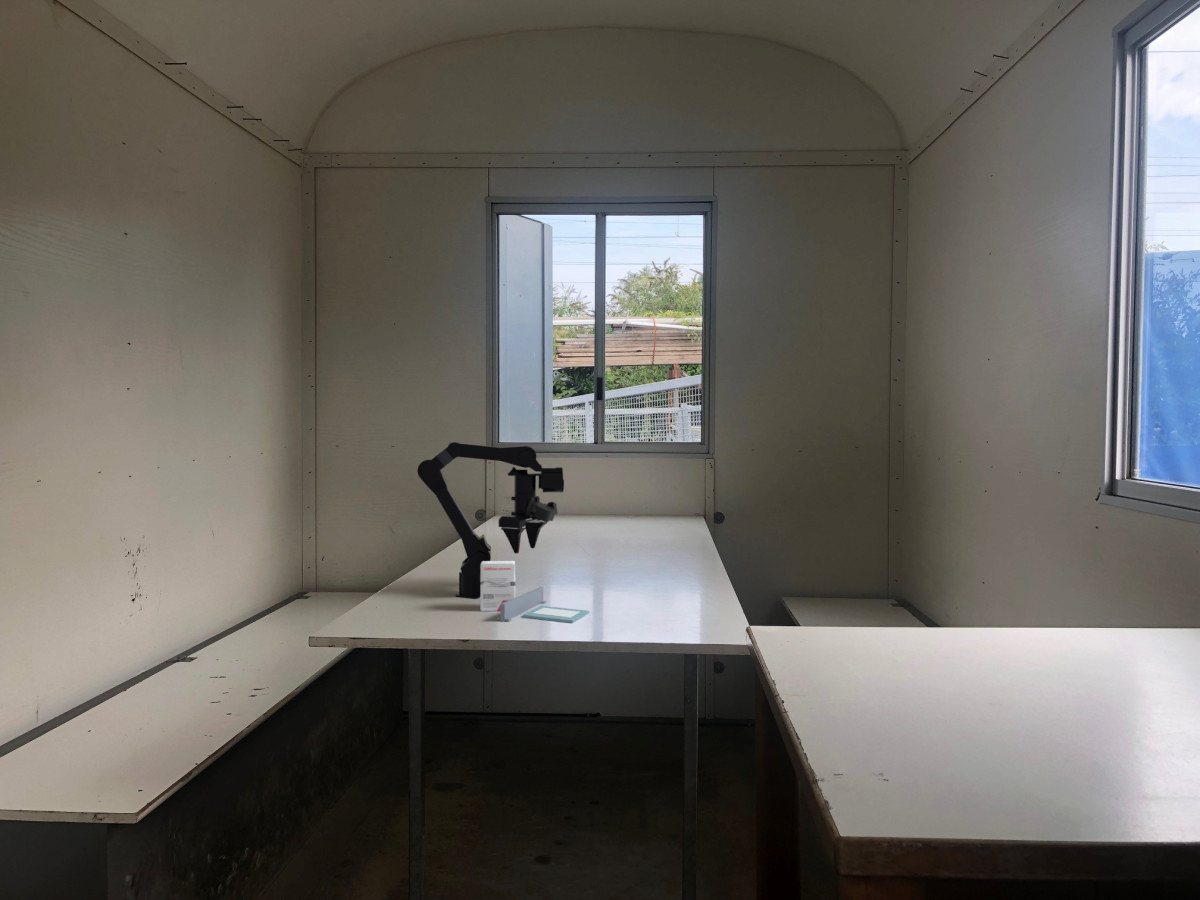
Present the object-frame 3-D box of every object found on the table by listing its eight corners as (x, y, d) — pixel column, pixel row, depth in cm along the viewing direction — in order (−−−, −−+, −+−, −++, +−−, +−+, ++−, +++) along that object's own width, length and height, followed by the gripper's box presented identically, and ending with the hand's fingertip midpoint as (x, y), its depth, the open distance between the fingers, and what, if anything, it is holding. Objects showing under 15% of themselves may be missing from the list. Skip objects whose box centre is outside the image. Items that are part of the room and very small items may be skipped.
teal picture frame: (522, 617, 177) (522, 614, 177) (541, 608, 187) (541, 605, 187) (572, 623, 172) (572, 620, 172) (589, 613, 182) (589, 610, 182)
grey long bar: (497, 620, 174) (497, 603, 174) (536, 602, 193) (536, 586, 193) (508, 621, 173) (508, 604, 173) (546, 603, 192) (546, 587, 191)
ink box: (515, 606, 188) (515, 559, 188) (515, 611, 183) (515, 563, 183) (481, 606, 188) (481, 560, 187) (480, 611, 183) (480, 563, 182)
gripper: (536, 496, 188) (535, 558, 189) (567, 491, 206) (566, 547, 206) (497, 494, 192) (497, 555, 193) (530, 489, 210) (530, 545, 210)
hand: (524, 550), depth 200 cm, fingers open, 9 cm apart
